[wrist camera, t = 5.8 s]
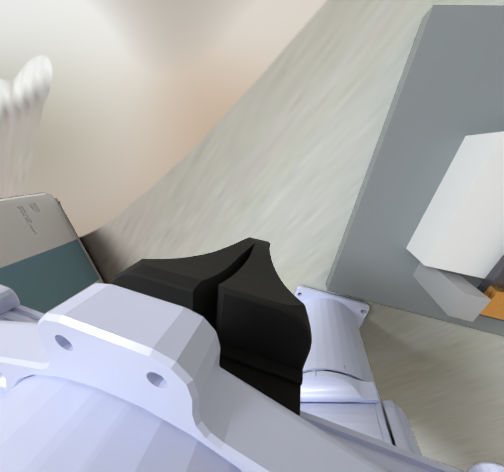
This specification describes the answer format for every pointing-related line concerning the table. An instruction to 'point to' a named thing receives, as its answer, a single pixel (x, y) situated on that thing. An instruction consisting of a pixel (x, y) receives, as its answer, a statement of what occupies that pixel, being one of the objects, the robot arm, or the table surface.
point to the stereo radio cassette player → (42, 252)
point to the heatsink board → (435, 177)
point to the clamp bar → (494, 292)
